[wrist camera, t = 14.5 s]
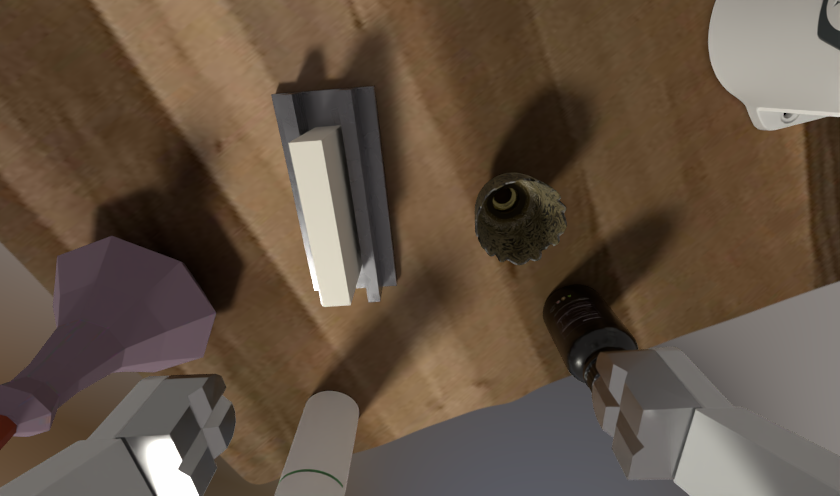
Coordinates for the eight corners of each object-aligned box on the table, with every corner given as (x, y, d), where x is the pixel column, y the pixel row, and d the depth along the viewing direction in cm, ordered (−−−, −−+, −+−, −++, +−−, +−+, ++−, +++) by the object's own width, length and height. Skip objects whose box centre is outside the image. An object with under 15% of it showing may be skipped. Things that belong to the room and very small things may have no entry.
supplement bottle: (612, 312, 45) (673, 391, 34) (559, 341, 47) (601, 425, 36) (583, 270, 43) (639, 340, 32) (529, 303, 44) (565, 380, 33)
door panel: (315, 127, 35) (288, 142, 28) (341, 125, 35) (321, 140, 28) (340, 264, 41) (323, 306, 34) (363, 263, 41) (350, 305, 34)
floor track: (275, 93, 35) (258, 96, 31) (374, 85, 35) (369, 87, 31) (316, 286, 43) (307, 306, 40) (397, 280, 43) (394, 300, 40)
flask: (54, 283, 43) (-208, 439, 25) (133, 187, 39) (-120, 293, 21) (182, 368, 49) (39, 549, 30) (264, 292, 44) (155, 451, 26)
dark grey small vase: (508, 141, 37) (529, 159, 30) (555, 194, 39) (585, 224, 32) (450, 195, 39) (456, 224, 32) (497, 243, 41) (514, 280, 34)
